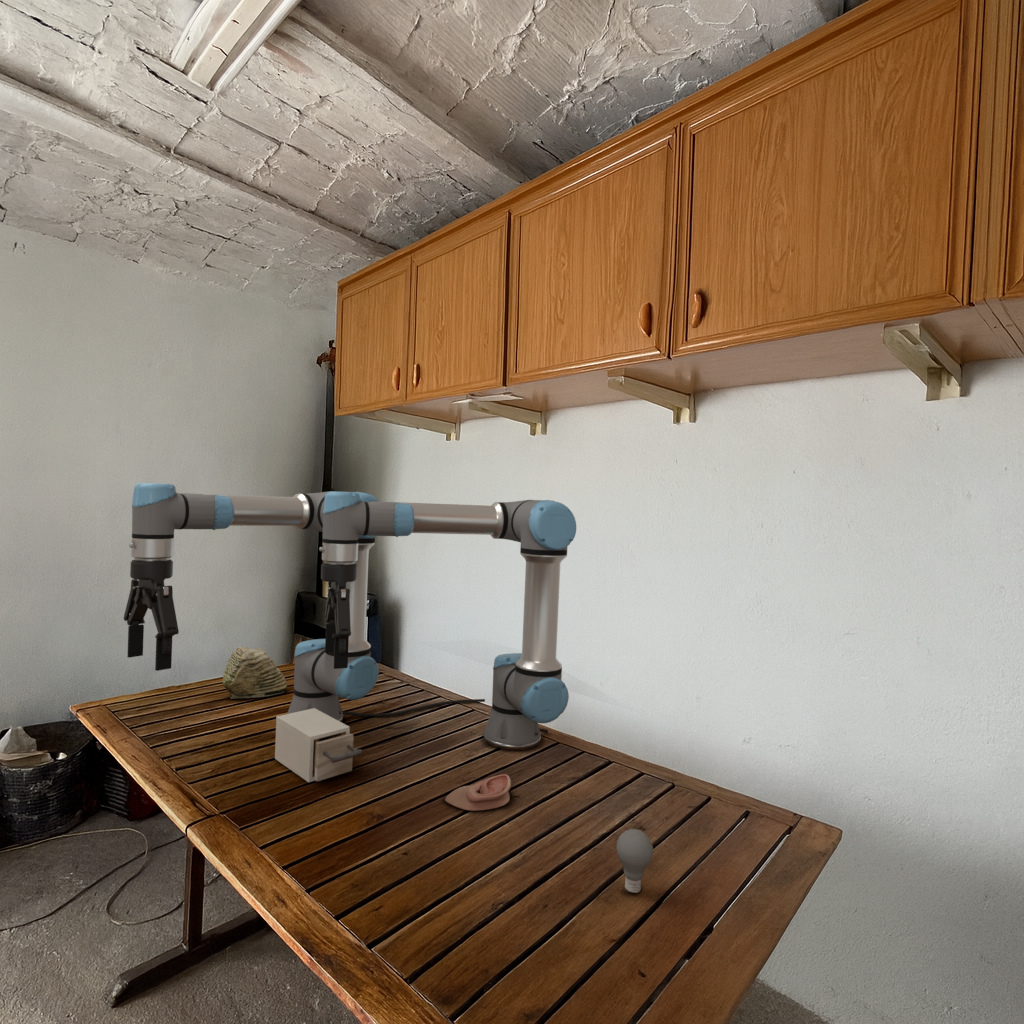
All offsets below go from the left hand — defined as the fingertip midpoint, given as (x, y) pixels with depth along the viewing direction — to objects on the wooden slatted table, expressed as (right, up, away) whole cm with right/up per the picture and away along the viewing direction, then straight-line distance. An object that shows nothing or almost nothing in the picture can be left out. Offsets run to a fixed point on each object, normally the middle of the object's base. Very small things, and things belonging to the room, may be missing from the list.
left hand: (148, 662), depth 129 cm
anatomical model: (+67, -31, +6) cm, 74 cm away
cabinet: (+27, -29, +20) cm, 44 cm away
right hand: (+36, -1, +8) cm, 37 cm away
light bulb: (+94, -33, -24) cm, 103 cm away
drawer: (+31, -28, +16) cm, 45 cm away
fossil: (-6, -27, +69) cm, 74 cm away
